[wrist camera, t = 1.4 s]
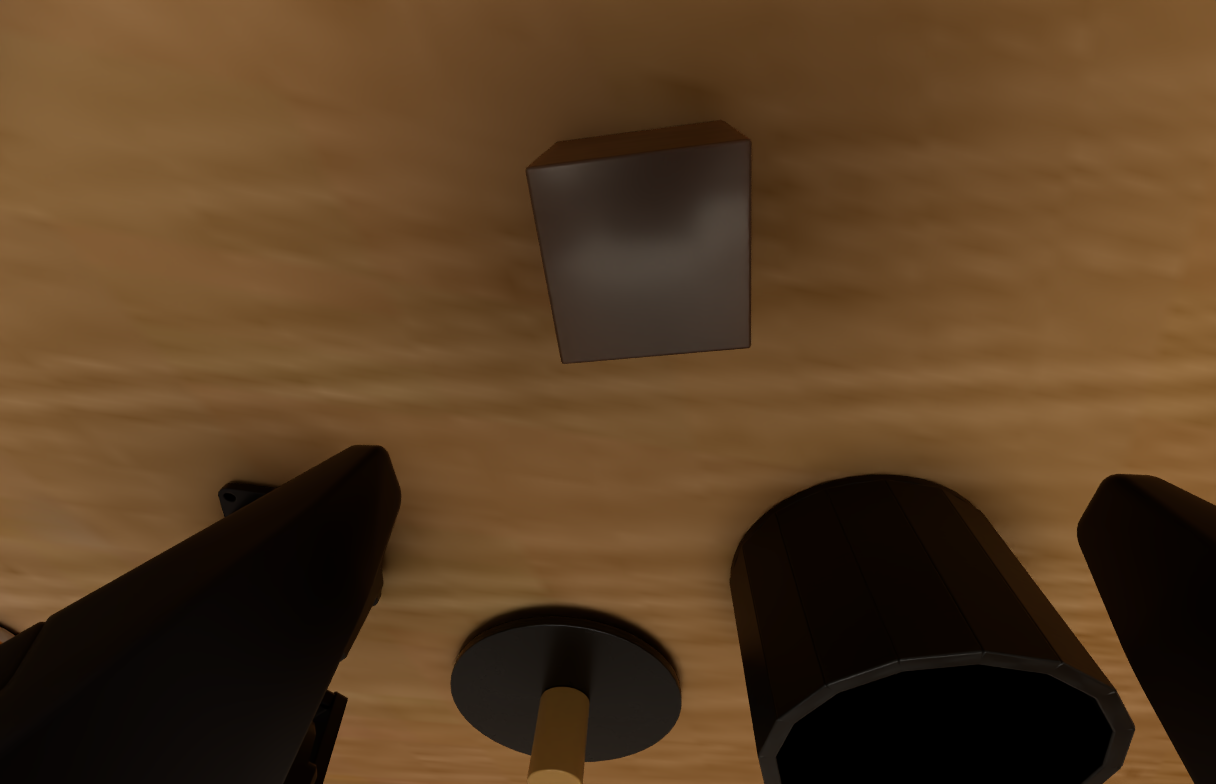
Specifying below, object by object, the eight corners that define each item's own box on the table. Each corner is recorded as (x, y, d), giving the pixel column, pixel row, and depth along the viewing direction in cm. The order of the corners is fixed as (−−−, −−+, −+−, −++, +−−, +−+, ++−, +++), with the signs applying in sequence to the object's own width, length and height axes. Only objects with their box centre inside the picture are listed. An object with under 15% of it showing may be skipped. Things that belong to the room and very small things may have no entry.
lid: (456, 727, 33) (427, 827, 29) (456, 589, 27) (419, 690, 23) (658, 754, 34) (660, 858, 29) (702, 624, 27) (714, 731, 23)
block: (580, 298, 19) (561, 365, 15) (555, 141, 17) (524, 167, 12) (727, 283, 19) (752, 349, 14) (723, 119, 16) (752, 138, 12)
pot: (705, 634, 28) (725, 819, 21) (769, 455, 22) (824, 629, 15) (926, 665, 28) (1016, 858, 21) (1044, 496, 22) (1220, 685, 15)
